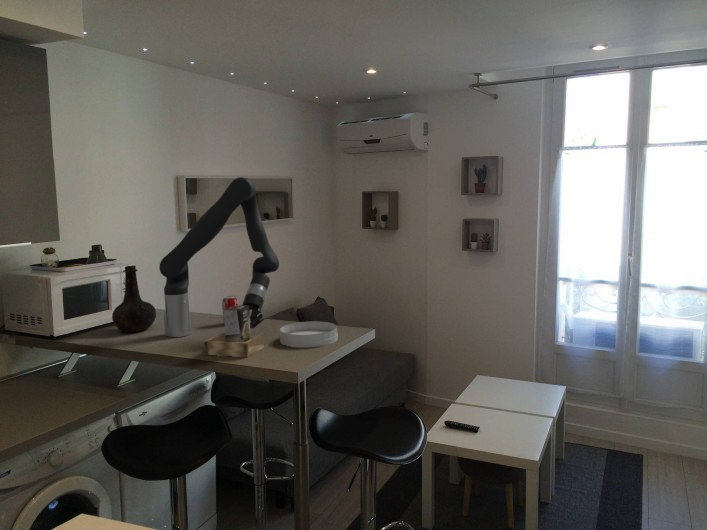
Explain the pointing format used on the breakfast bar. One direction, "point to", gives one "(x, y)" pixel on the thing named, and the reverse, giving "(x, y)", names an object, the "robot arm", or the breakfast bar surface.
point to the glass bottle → (133, 306)
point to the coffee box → (237, 324)
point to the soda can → (229, 303)
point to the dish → (308, 334)
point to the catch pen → (233, 346)
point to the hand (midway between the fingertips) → (241, 336)
